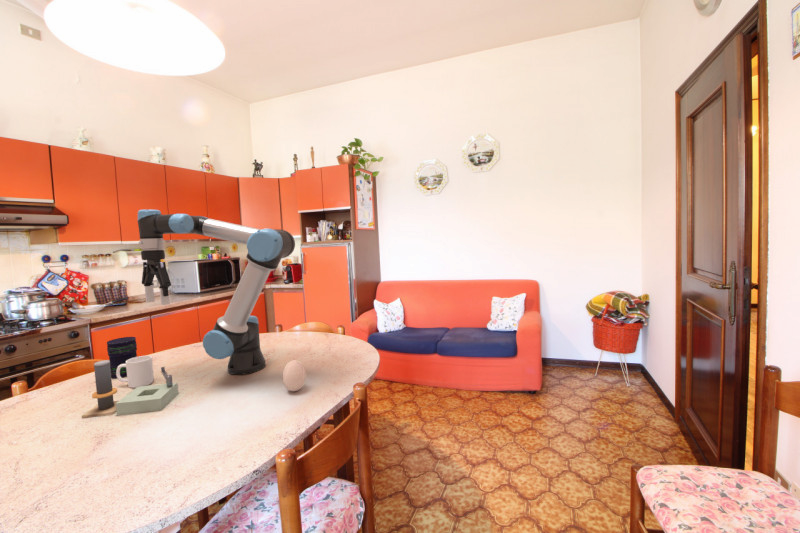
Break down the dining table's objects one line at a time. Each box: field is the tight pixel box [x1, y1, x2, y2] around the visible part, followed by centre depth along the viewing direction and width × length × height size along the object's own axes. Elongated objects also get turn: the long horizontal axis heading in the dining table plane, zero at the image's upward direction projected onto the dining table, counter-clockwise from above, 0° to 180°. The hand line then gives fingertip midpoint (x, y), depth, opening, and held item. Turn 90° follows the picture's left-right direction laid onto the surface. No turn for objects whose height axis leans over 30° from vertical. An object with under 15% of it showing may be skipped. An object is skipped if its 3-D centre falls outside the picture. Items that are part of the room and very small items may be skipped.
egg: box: [282, 359, 307, 392], centre depth 126 cm, size 8×8×11 cm
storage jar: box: [106, 336, 138, 380], centre depth 148 cm, size 10×10×15 cm
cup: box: [116, 355, 155, 389], centre depth 136 cm, size 8×12×10 cm
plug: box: [91, 359, 118, 410], centre depth 116 cm, size 6×6×16 cm
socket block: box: [116, 382, 179, 416], centre depth 120 cm, size 13×13×4 cm
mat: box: [81, 400, 119, 419], centre depth 116 cm, size 9×9×1 cm
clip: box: [160, 366, 174, 387], centre depth 127 cm, size 13×2×4 cm, turn 43°
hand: (157, 303), depth 137 cm, fingers open, 13 cm apart
